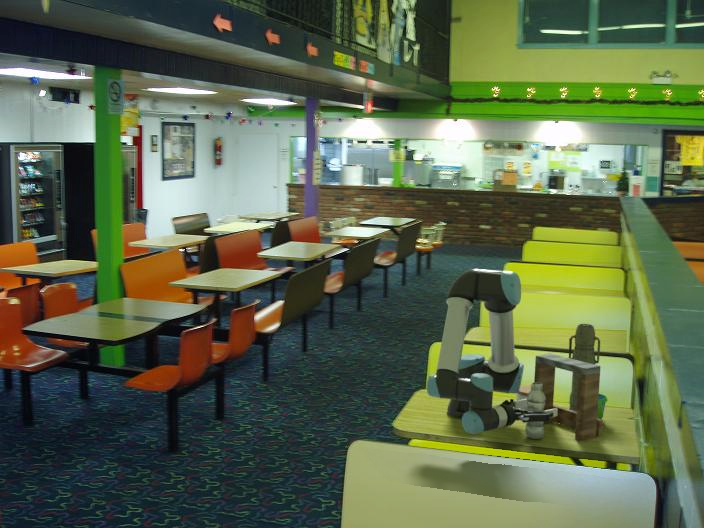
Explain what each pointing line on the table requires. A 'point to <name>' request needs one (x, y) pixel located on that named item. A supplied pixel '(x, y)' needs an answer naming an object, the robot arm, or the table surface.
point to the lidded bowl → (523, 394)
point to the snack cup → (601, 405)
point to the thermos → (582, 355)
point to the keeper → (587, 394)
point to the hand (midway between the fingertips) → (541, 407)
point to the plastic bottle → (535, 404)
